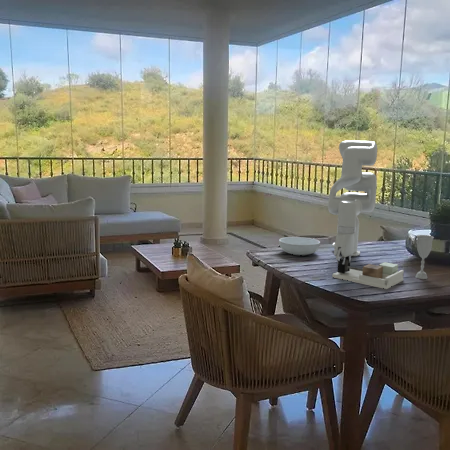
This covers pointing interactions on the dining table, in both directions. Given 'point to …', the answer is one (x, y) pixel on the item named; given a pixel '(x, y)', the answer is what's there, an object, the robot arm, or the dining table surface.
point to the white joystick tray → (388, 277)
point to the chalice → (423, 252)
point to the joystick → (367, 270)
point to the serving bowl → (299, 245)
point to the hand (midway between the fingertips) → (343, 271)
